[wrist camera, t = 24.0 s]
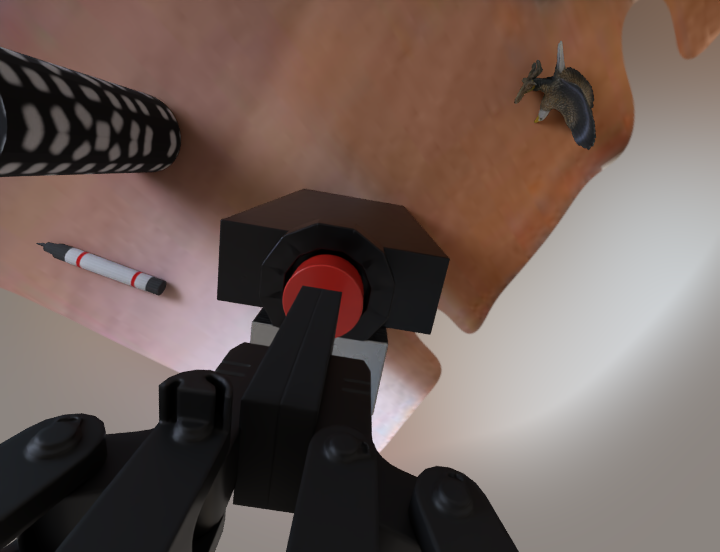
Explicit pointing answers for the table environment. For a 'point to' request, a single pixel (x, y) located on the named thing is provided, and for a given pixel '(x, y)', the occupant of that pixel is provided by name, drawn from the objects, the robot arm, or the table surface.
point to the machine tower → (341, 238)
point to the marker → (105, 267)
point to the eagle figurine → (564, 98)
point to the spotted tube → (78, 123)
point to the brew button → (330, 286)
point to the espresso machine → (336, 348)
